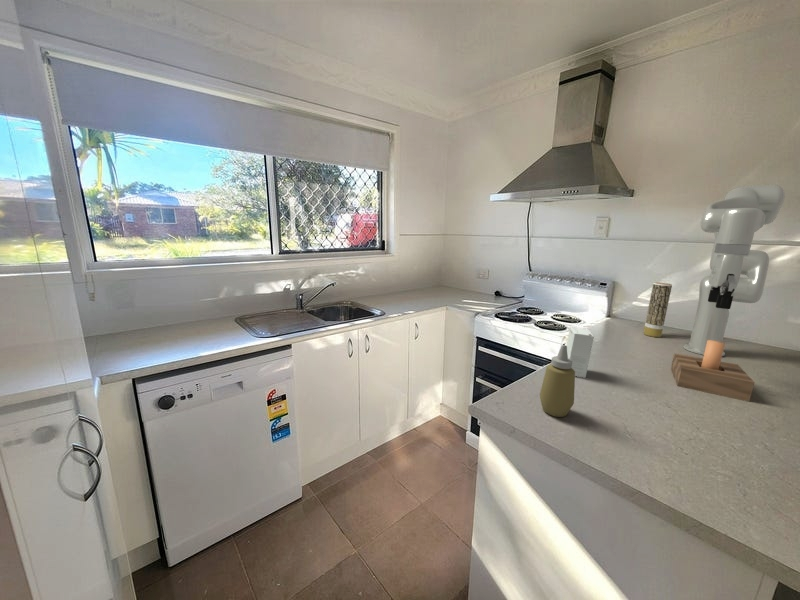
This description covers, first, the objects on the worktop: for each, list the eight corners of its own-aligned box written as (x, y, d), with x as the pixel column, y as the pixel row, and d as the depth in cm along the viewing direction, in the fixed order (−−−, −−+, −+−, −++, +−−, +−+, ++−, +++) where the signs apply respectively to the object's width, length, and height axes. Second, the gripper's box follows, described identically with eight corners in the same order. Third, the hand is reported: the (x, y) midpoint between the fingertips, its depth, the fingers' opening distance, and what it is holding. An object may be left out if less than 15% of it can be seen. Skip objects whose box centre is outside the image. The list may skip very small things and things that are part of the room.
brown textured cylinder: (664, 338, 151) (675, 285, 146) (647, 336, 152) (658, 284, 147) (656, 334, 157) (666, 283, 152) (640, 332, 159) (650, 282, 153)
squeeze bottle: (570, 424, 79) (581, 354, 75) (535, 413, 83) (544, 346, 80) (573, 409, 86) (583, 344, 82) (540, 400, 90) (548, 338, 86)
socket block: (670, 369, 115) (674, 353, 114) (732, 381, 107) (737, 364, 105) (677, 385, 102) (681, 367, 101) (749, 401, 93) (754, 382, 92)
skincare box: (562, 366, 114) (568, 325, 111) (581, 368, 113) (588, 327, 109) (566, 375, 106) (573, 332, 103) (587, 378, 105) (594, 334, 102)
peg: (696, 379, 107) (706, 339, 104) (712, 383, 105) (723, 341, 102) (698, 384, 104) (708, 342, 101) (715, 387, 102) (726, 345, 99)
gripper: (708, 248, 107) (696, 298, 111) (722, 251, 93) (708, 309, 97) (739, 249, 104) (726, 301, 107) (759, 252, 89) (743, 313, 93)
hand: (718, 305), depth 102 cm, fingers open, 9 cm apart
